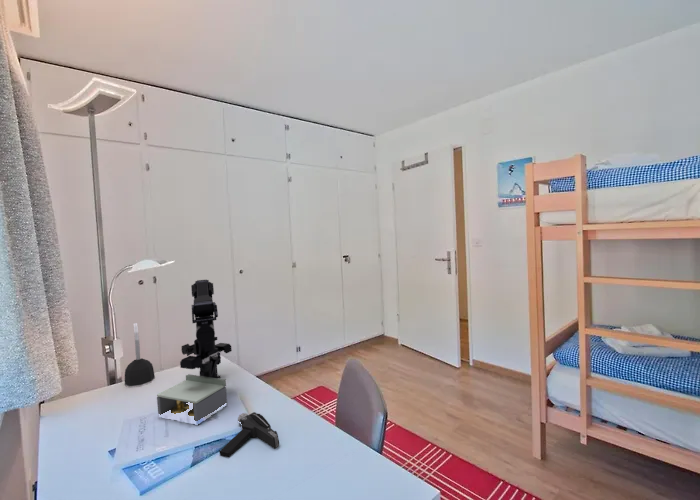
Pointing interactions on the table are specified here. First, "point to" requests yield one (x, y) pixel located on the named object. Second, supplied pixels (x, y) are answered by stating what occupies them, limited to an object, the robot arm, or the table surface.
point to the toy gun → (251, 433)
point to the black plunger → (138, 367)
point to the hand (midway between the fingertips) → (209, 378)
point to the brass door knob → (179, 407)
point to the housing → (196, 404)
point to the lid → (193, 388)
